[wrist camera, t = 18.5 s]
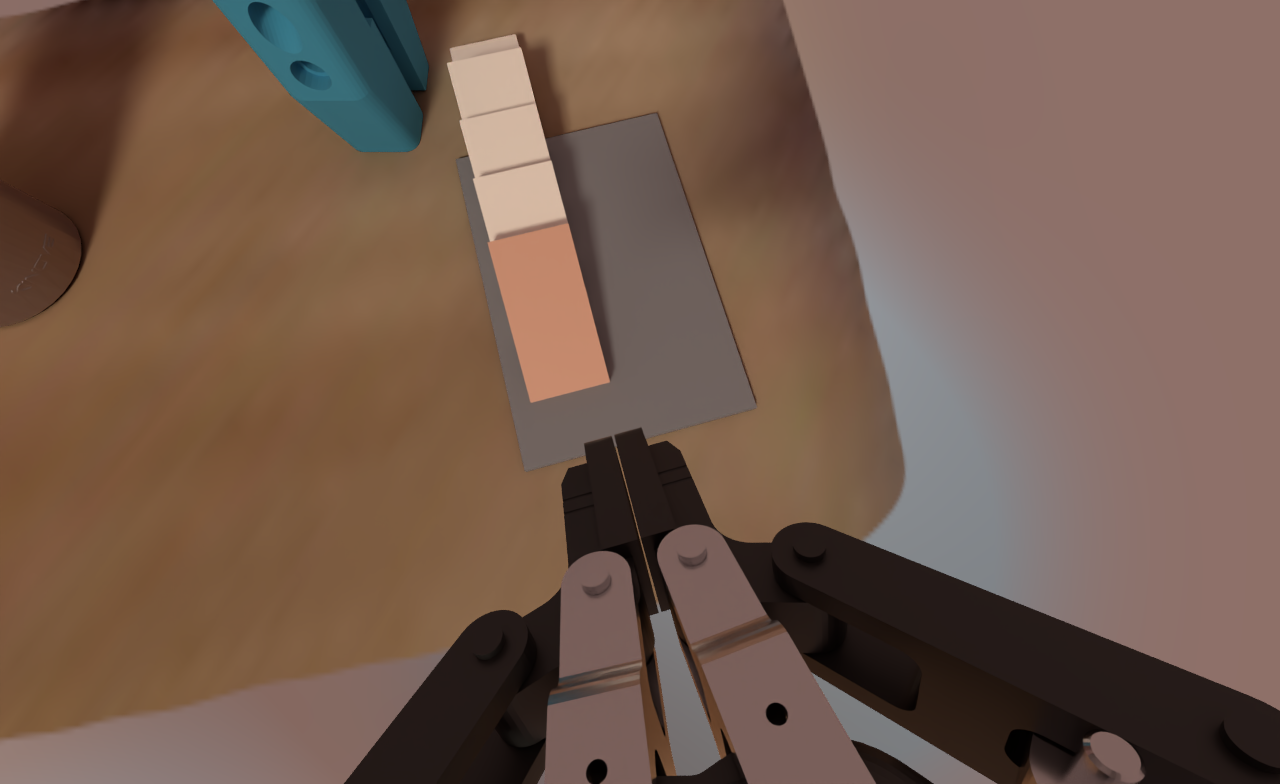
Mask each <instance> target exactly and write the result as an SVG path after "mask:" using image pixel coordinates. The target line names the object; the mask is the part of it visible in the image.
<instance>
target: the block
mask: <svg viewBox="0 0 1280 784" xmlns="http://www.w3.org/2000/svg"><path fill="white" fill-rule="evenodd" d="M213 2H214V3H215V4H216V5H217V6H218V8H219V9H220V10H221V11H222V12H223V14H224V15H225V16H226V17H227V19H228V20H229V21H230V22H231V23H232V25H233V26H234V27H235V28H236V29H237V31H238V32H239V33H240V34H241V36H242V37H243V38H244V39H245V40H246V42H247V43H248V44H249V45H250V46H251V48H252V49H253V50H254V51H255V53H256V54H257V55H258V56H259V57H260V59H261V60H262V61H263V62H264V63H265V65H266V66H267V67H268V68H269V70H270V71H271V72H272V73H273V74H274V76H275V77H276V78H277V79H278V80H279V82H280V83H281V84H282V85H283V86H284V88H285V89H286V90H287V91H288V93H289V94H290V95H291V96H292V97H293V98H294V99H296V100H297V101H298V102H299V103H300V104H302V105H303V106H304V107H305V108H306V109H308V110H309V111H310V112H311V113H313V114H314V115H315V116H316V117H317V118H319V119H320V120H321V121H322V122H323V123H325V124H326V125H327V126H328V127H330V128H331V129H332V130H333V131H334V132H336V133H337V134H338V135H339V136H340V137H342V138H343V139H344V140H345V141H347V142H348V143H349V144H350V145H351V146H353V147H354V148H355V149H356V150H358V151H361V152H408V151H411V150H413V149H415V148H416V147H417V146H418V145H419V143H420V138H421V130H422V121H423V113H422V111H421V109H420V107H419V105H418V103H417V101H416V100H415V98H414V96H413V94H412V92H411V90H426V87H427V78H428V70H429V65H428V62H427V59H426V56H425V53H424V50H423V47H422V44H421V41H420V39H419V36H418V33H417V30H416V27H415V24H414V21H413V18H412V15H411V13H410V10H409V7H408V4H407V1H406V0H213Z"/></svg>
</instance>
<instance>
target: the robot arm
mask: <svg viewBox="0 0 1280 784" xmlns="http://www.w3.org/2000/svg"><path fill="white" fill-rule="evenodd" d="M80 258H81V240H80V236H79V233H78V230H77V228H76V227H75V225H74V224H73V222H72V221H71V220H70V219H69V218H68V217H67V216H66V215H64V214H63V213H62V212H60V211H58V210H56V209H54V208H52V207H50V206H48V205H47V204H45V203H43V202H41V201H39V200H37V199H35V198H33V197H32V196H30V195H28V194H26V193H24V192H22V191H20V190H18V189H17V188H15V187H13V186H11V185H9V184H7V183H5V182H3V181H1V180H0V327H2V326H9V325H12V324H16V323H19V322H22V321H25V320H27V319H29V318H31V317H33V316H35V315H37V314H39V313H40V312H42V311H43V310H44V309H46V308H47V307H48V306H50V305H51V304H53V303H54V302H55V301H56V300H57V299H58V298H59V297H60V296H61V294H62V293H63V292H64V291H65V290H66V288H67V287H68V286H69V284H70V283H71V281H72V280H73V278H74V275H75V273H76V271H77V269H78V267H79V262H80ZM614 437H615V441H616V444H617V448H618V452H619V456H620V460H621V464H622V467H623V471H624V475H625V479H626V483H627V487H628V490H629V494H630V498H631V502H632V506H633V510H634V513H635V517H636V521H637V525H638V529H639V533H640V536H641V540H642V544H643V547H644V551H645V554H646V558H647V562H648V565H649V569H650V572H651V576H652V579H653V583H654V587H655V590H656V594H657V597H658V601H659V604H660V608H661V611H666V610H669V609H670V610H671V614H672V617H673V621H674V624H675V628H676V631H677V635H678V639H679V643H680V646H681V649H682V652H683V654H684V657H685V659H686V662H687V665H688V668H689V670H690V673H691V676H692V679H693V681H694V684H695V687H696V689H697V692H698V694H699V697H700V700H701V703H702V706H703V708H704V711H705V714H706V717H707V719H708V722H709V724H710V727H711V730H712V733H713V736H714V739H715V741H716V745H717V748H718V752H719V755H720V758H721V760H719V761H718V762H716V763H715V764H714V765H712V766H711V767H709V768H708V769H706V770H705V771H704V772H702V773H700V774H697V775H692V776H677V775H676V770H675V766H674V761H673V757H672V752H671V747H670V742H669V736H668V729H667V722H666V716H665V710H664V703H663V696H662V689H661V683H660V676H659V670H658V663H657V657H656V651H655V648H654V644H655V639H654V633H653V629H652V625H651V620H650V615H653V614H657V613H658V609H657V605H656V601H655V597H654V593H653V589H652V585H651V581H650V577H649V574H648V570H647V566H646V562H645V558H644V554H643V550H642V546H641V542H640V539H639V535H638V531H637V527H636V523H635V519H634V515H633V511H632V507H631V504H630V500H629V496H628V492H627V489H626V485H625V481H624V478H623V474H622V471H621V467H620V464H619V460H618V456H617V453H616V449H615V446H614V442H613V439H612V436H608V437H604V438H601V439H597V440H594V441H590V442H586V443H584V448H585V454H586V460H587V463H586V464H582V465H579V466H575V467H571V468H568V470H567V473H566V475H565V477H564V479H563V482H562V484H561V486H562V497H563V508H564V515H565V516H564V519H565V530H566V542H567V553H568V570H567V571H566V573H565V575H564V577H563V580H562V584H561V588H560V590H559V591H558V592H557V593H556V594H555V595H554V596H553V597H552V598H551V599H550V600H549V601H548V602H546V603H545V604H543V605H542V606H540V607H539V608H537V609H535V610H534V611H532V612H531V613H529V614H527V615H526V616H524V617H521V616H520V615H519V614H517V613H515V612H513V611H509V610H498V611H494V612H490V613H488V614H485V615H483V616H481V617H480V618H478V619H477V620H475V621H474V622H472V623H471V624H470V625H469V626H468V627H467V628H466V629H465V630H464V631H463V633H462V634H461V635H460V636H459V638H458V639H457V640H456V642H455V643H454V644H453V645H452V647H451V648H450V649H449V650H448V652H447V653H446V654H445V656H444V657H443V658H442V659H441V661H440V662H439V663H438V665H437V666H436V667H435V669H434V670H433V671H432V672H431V673H430V675H429V676H428V677H427V678H426V680H425V681H424V682H423V684H422V685H421V686H420V687H419V689H418V690H417V691H416V693H415V694H414V695H413V696H412V698H411V699H410V700H409V702H408V703H407V704H406V705H405V707H404V708H403V709H402V710H401V712H400V713H399V714H398V715H397V717H396V718H395V719H394V721H393V722H392V723H391V724H390V726H389V727H388V728H387V729H386V731H385V732H384V733H383V735H382V736H381V737H380V738H379V740H378V741H377V742H376V743H375V745H374V746H373V747H372V749H371V750H370V751H369V752H368V754H367V755H366V756H365V757H364V759H363V760H362V761H361V763H360V764H359V765H358V766H357V768H356V769H355V770H354V772H353V773H352V774H351V775H350V777H349V778H348V779H347V781H346V782H345V783H344V784H537V783H538V781H539V779H540V777H541V776H542V774H543V772H544V770H545V784H933V783H932V782H930V781H929V780H927V779H926V778H924V777H923V776H922V775H920V774H919V773H917V772H916V771H914V770H913V769H911V768H910V767H908V766H907V765H905V764H904V763H902V762H901V761H899V760H898V759H896V758H894V757H892V756H890V755H888V754H887V753H884V752H883V751H881V750H879V749H877V748H874V747H871V746H869V745H866V744H864V743H861V742H857V741H853V740H850V738H849V737H848V735H847V733H846V731H845V730H844V728H843V726H842V724H841V723H840V721H839V719H838V718H837V716H836V714H835V713H834V711H833V709H832V707H831V706H830V704H829V702H828V701H827V699H826V697H825V695H824V694H823V692H822V690H821V689H820V687H819V685H818V683H817V682H816V680H815V679H814V677H813V675H812V673H814V674H815V675H817V676H818V677H820V678H822V679H823V680H825V681H827V682H829V683H830V684H832V685H834V686H835V687H837V688H838V689H840V690H842V691H844V692H845V693H847V694H848V695H850V696H852V697H854V698H855V699H857V700H859V701H860V702H862V703H864V704H865V705H867V706H868V707H870V708H872V709H873V710H875V711H877V712H879V713H880V714H882V715H884V716H885V717H887V718H889V719H891V720H892V721H894V722H895V723H897V724H899V725H900V726H902V727H904V728H906V729H907V730H909V731H910V732H912V733H914V734H915V735H917V736H919V737H921V738H922V739H924V740H925V741H927V742H929V743H930V744H932V745H934V746H935V747H937V748H939V749H940V750H942V751H944V752H946V753H947V754H949V755H951V756H952V757H954V758H956V759H957V760H959V761H960V762H962V763H964V764H965V765H967V766H969V767H971V768H972V769H974V770H976V771H977V772H979V773H981V774H982V775H984V776H986V777H987V778H989V779H991V780H992V781H994V782H996V783H997V784H1280V711H1279V710H1277V709H1276V708H1274V707H1272V706H1270V705H1268V704H1266V703H1264V702H1262V701H1260V700H1257V699H1255V698H1253V697H1251V696H1249V695H1246V694H1243V693H1241V692H1239V691H1236V690H1233V689H1231V688H1229V687H1226V686H1224V685H1221V684H1219V683H1215V682H1213V681H1211V680H1208V679H1206V678H1204V677H1201V676H1198V675H1196V674H1193V673H1191V672H1188V671H1186V670H1184V669H1181V668H1179V667H1176V666H1174V665H1171V664H1169V663H1166V662H1164V661H1161V660H1159V659H1156V658H1154V657H1151V656H1149V655H1146V654H1144V653H1141V652H1139V651H1136V650H1134V649H1131V648H1129V647H1126V646H1123V645H1121V644H1119V643H1116V642H1114V641H1111V640H1109V639H1106V638H1103V637H1101V636H1098V635H1096V634H1093V633H1091V632H1088V631H1086V630H1084V629H1081V628H1079V627H1076V626H1074V625H1071V624H1069V623H1066V622H1064V621H1061V620H1059V619H1056V618H1054V617H1051V616H1049V615H1046V614H1044V613H1041V612H1039V611H1036V610H1033V609H1031V608H1029V607H1026V606H1024V605H1021V604H1018V603H1016V602H1014V601H1011V600H1009V599H1006V598H1004V597H1001V596H999V595H996V594H993V593H991V592H989V591H986V590H983V589H981V588H979V587H976V586H974V585H971V584H969V583H966V582H964V581H961V580H959V579H956V578H954V577H951V576H949V575H946V574H944V573H941V572H939V571H936V570H934V569H931V568H929V567H926V566H924V565H921V564H919V563H916V562H914V561H911V560H909V559H906V558H904V557H901V556H899V555H896V554H894V553H891V552H889V551H886V550H884V549H881V548H879V547H876V546H874V545H871V544H869V543H866V542H864V541H861V540H859V539H856V538H854V537H851V536H849V535H846V534H844V533H841V532H839V531H836V530H834V529H831V528H829V527H826V526H823V525H820V524H816V523H808V522H805V523H796V524H792V525H789V526H787V527H785V528H783V529H782V530H781V531H779V532H778V533H777V535H776V536H775V537H774V539H773V541H772V543H745V542H739V541H736V540H732V539H730V538H728V537H726V536H724V535H723V534H721V533H720V532H719V531H718V530H717V529H716V528H715V527H714V525H713V524H712V522H711V520H710V517H709V515H708V513H707V511H706V508H705V506H704V504H703V502H702V499H701V497H700V495H699V492H698V490H697V488H696V486H695V483H694V481H693V479H692V477H691V474H690V472H689V470H688V468H687V465H686V463H685V460H684V458H683V456H682V454H681V451H680V450H679V449H677V448H676V447H675V446H673V445H672V444H671V443H669V442H668V441H664V442H660V443H657V444H653V445H650V446H648V444H647V441H646V439H645V436H644V433H643V430H642V428H641V427H640V428H636V429H633V430H629V431H626V432H622V433H618V434H615V435H614ZM811 672H812V673H811Z"/></svg>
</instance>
